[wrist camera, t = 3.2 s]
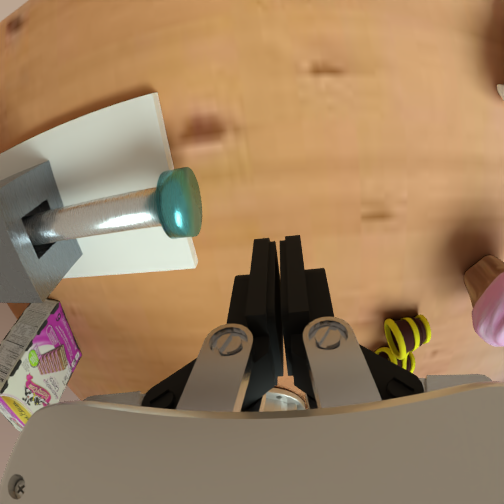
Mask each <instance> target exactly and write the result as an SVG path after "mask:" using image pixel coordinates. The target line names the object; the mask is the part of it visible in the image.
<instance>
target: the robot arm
mask: <svg viewBox="0 0 504 504" xmlns="http://www.w3.org/2000/svg"><path fill="white" fill-rule="evenodd" d="M283 336H284V344H285V353H286V361H287V370H288V376H294V385H295V386H296V387H298V388H299V389H301V390H302V391H303V392H305V394H306V402H307V406H308V409H305V403H304V401H303V400H302V399H301V398H300V397H299V396H297V395H296V394H294V393H292V392H289V391H287V390H283V389H279V388H273V387H274V386H275V385H277V376H283ZM0 504H504V382H499V381H492V380H491V379H490V378H488V377H487V376H485V375H480V374H470V375H427V376H426V378H418V377H417V376H416V375H414V374H413V373H411V372H409V371H407V370H406V369H404V368H402V367H400V366H398V365H396V364H394V363H393V362H391V361H389V360H387V359H385V358H383V357H381V356H380V355H378V354H376V353H374V352H372V351H370V350H369V349H367V348H365V347H363V346H361V345H360V344H359V343H358V341H357V339H356V337H355V334H354V332H353V330H352V328H351V327H350V325H349V324H348V323H347V322H345V321H344V320H342V319H339V318H337V317H334V314H333V308H332V303H331V298H330V293H329V288H328V283H327V278H326V273H325V269H324V268H320V269H309V270H304V262H303V255H302V247H301V239H300V235H295V236H285V240H284V241H280V274H279V266H278V258H277V250H276V243H275V241H273V242H270V239H269V238H263V239H254V244H253V253H252V261H251V270H250V275H238V276H235V280H234V285H233V291H232V296H231V302H230V308H229V313H228V319H227V324H225V325H221V326H219V327H217V328H215V329H213V330H212V331H211V332H210V333H209V334H208V335H207V337H206V339H205V341H204V343H203V346H202V348H201V350H200V353H199V355H198V357H197V358H196V359H195V360H193V361H192V362H190V363H189V364H187V365H186V366H184V367H183V368H181V369H180V370H178V371H177V372H175V373H174V374H172V375H171V376H169V377H168V378H166V379H165V380H163V381H162V382H160V383H159V384H157V385H155V386H154V387H152V388H151V389H150V390H149V391H148V392H147V393H146V394H142V393H141V391H137V392H128V393H119V394H108V395H96V396H90V397H87V398H86V399H84V400H83V401H64V402H59V403H54V404H50V405H47V406H44V407H42V408H40V409H38V410H37V411H36V412H35V413H34V414H33V415H32V416H31V417H30V418H29V420H28V421H27V423H26V424H25V426H24V428H23V429H22V431H21V433H20V435H19V437H18V439H17V441H16V443H15V446H14V448H13V450H12V453H11V455H10V458H9V460H8V463H7V466H6V468H5V471H4V474H3V477H2V480H1V484H0Z"/></svg>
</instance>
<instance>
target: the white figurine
mask: <svg viewBox="0 0 504 504" xmlns="http://www.w3.org/2000/svg"><path fill="white" fill-rule="evenodd" d="M497 91H498V93H499V95H500V96H501V98H502V99H503V100H504V85H502V84H498V85H497Z"/></svg>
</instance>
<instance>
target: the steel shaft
mask: <svg viewBox="0 0 504 504" xmlns="http://www.w3.org/2000/svg"><path fill="white" fill-rule="evenodd" d="M21 219H22V222H23V224H24V227H25V229H26V232H27V234H28V236H29V239H30V241H31V243H32V246H35V245H41V244H46V243H52V242H58V241H64V240H70V239H76V238H83V237H89V236H95V235H102V234H109V233H115V232H122V231H129V230H136V229H143V228H150V227H158V226H162V228H163V230H164V232H165V233H166V235H167V236H168V237H169V238H171V239H177V238H185V237H194V236H197V235H198V234H199V232H200V229H201V224H202V203H201V196H200V190H199V186H198V182H197V180H196V177H195V175H194V173H193V171H192V170H191V169H190V168H189V167H184V168H178V169H173V170H168V171H163V172H162V173H161V174H160V176H159V178H158V182H157V187H153V188H148V189H143V190H137V191H132V192H127V193H122V194H117V195H113V196H108V197H103V198H99V199H94V200H90V201H85V202H81V203H77V204H72V205H68V206H64V207H60V208H56V209H52V210H48V211H45V212H41V213H37V214H33V215H30V216H26V217H22V218H21Z"/></svg>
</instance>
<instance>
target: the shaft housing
mask: <svg viewBox="0 0 504 504" xmlns="http://www.w3.org/2000/svg"><path fill="white" fill-rule="evenodd" d="M60 207H64V205H63V202H62V199H61V196H60V193H59V190H58V187H57V184H56V181H55V178H54V175H53V172H52V169H51V165H50V162H49V160H48V161H46V162H43V163H41V164H38V165H35V166H33V167H31V168H28V169H26V170H23V171H21V172H19V173H16V174H14V175H12V176H9V177H7V178H5V179H3V180H1V181H0V303H1V302H2V303H3V302H4V303H43V302H44V301H45V300H46V298H47V297H48V296H49V295H50V293H51V292H52V291H53V290H54V288H55V287H56V286H57V285H58V283H59V282H60V281H61V280H62V278H63V277H64V276H65V275H66V273H67V272H68V271H69V270H70V269H71V267H72V266H73V265H74V264H75V263H76V262H77V260H78V259H79V258H80V257H81V256H82V255H83V253H82V251H81V248H80V246H79V244H78V241H77V239H70V240H64V241H58V242H52V243H46V244H41V245H35V246H32V243H31V241H30V239H29V236H28V234H27V232H26V229H25V227H24V224H23V222H22V219H21V218H22V217H26V216H30V215H33V214H37V213H41V212H45V211H48V210H52V209H56V208H60Z"/></svg>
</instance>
